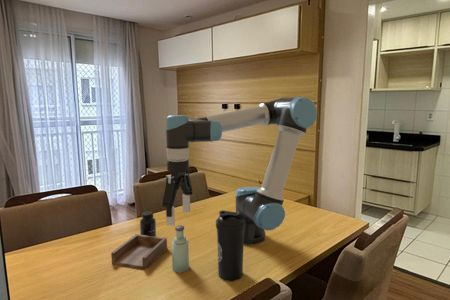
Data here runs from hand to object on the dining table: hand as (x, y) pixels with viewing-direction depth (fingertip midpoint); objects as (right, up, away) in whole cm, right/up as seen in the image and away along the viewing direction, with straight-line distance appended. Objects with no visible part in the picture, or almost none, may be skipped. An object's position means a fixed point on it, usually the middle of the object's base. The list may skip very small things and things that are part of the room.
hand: (178, 218), depth 107 cm
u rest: (-17, -18, +12) cm, 27 cm away
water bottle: (+19, -20, -1) cm, 27 cm away
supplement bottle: (-18, -16, +27) cm, 36 cm away
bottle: (0, -19, +3) cm, 19 cm away
